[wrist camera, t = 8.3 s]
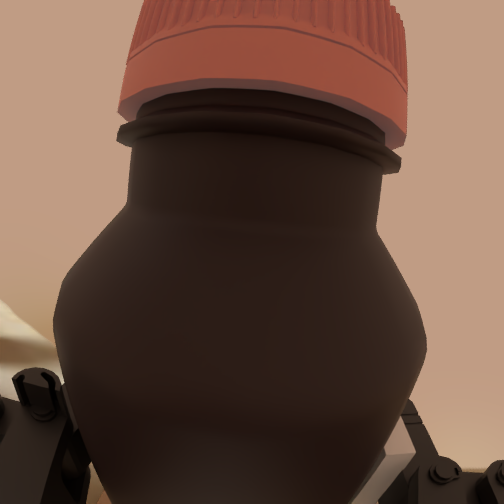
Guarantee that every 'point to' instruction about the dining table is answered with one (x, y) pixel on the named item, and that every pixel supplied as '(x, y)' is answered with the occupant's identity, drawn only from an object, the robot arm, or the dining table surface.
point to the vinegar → (247, 260)
